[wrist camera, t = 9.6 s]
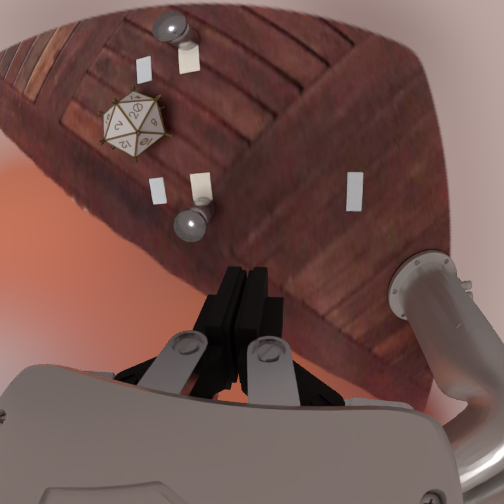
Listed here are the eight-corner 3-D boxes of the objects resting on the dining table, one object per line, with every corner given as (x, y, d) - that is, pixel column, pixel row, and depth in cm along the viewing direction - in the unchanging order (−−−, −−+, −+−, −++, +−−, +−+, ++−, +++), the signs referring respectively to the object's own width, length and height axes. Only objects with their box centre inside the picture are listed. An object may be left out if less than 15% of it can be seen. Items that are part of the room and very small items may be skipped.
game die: (152, 109, 33) (120, 63, 23) (196, 129, 31) (167, 75, 22) (111, 159, 32) (67, 121, 23) (150, 186, 31) (104, 146, 21)
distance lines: (356, 40, 24) (357, 39, 23) (360, 210, 34) (361, 211, 33) (136, 60, 27) (136, 59, 26) (156, 217, 37) (156, 218, 36)
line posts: (201, 25, 24) (185, 8, 19) (219, 219, 36) (207, 241, 30) (173, 31, 25) (152, 16, 19) (192, 221, 36) (176, 242, 30)
